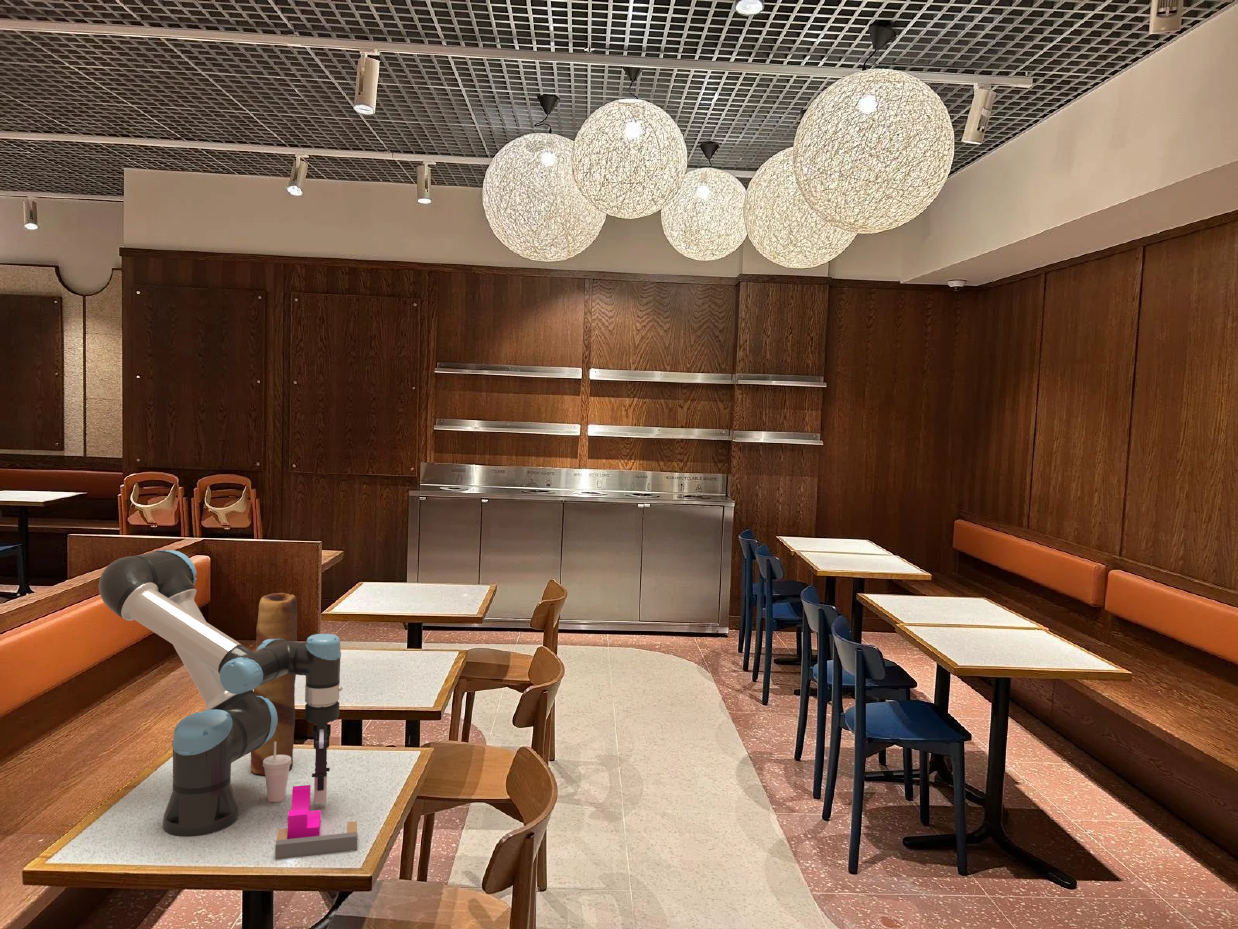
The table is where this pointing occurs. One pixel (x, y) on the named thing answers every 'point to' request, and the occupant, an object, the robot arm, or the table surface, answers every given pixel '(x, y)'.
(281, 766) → the smoothie
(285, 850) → the stop board
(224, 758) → the robot arm
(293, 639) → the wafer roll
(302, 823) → the toy block
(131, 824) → the table surface
